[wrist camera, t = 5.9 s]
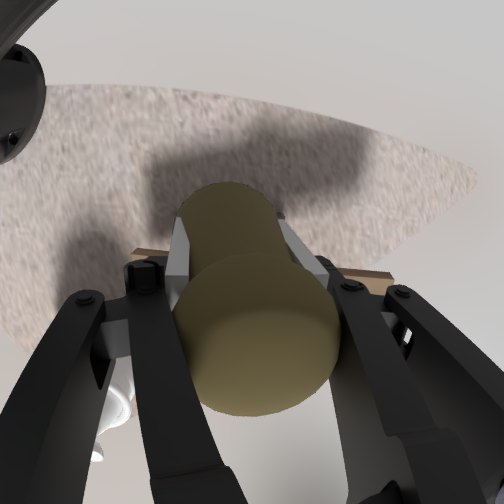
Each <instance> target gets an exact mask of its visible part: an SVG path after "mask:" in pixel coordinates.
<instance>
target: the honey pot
mask: <svg viewBox="0 0 504 504" xmlns="http://www.w3.org/2000/svg"><path fill="white" fill-rule="evenodd" d="M134 393H135V387H134V380H133V371H132V362H131V356H127V357H122V358H116V364H115V367H114V371H113V374H112V378H111V381H110V385H109V388H108V392H107V395H106V399H105V403H104V407H103V410H102V414H101V418H100V422H99V426H98V430H97V434H96V436H98V435H100V434H101V433H102V432H104V431H105V430H106V429H107V428H112V427H116V426H119V425H121V424H123V423H124V422H126V421H127V420H128V418H129V417H130V415H131V410H132V407H131V402H130V401H131V399H132V398H133V396H134ZM121 411H122V413H121ZM120 413H121V414H120ZM119 414H120V415H119ZM102 460H103V450H102V448H101V446H100V444H99V443H98V442H96V441H95V443H94V447H93V452H92V456H91V461H95V462H100V461H102Z"/></svg>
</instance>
